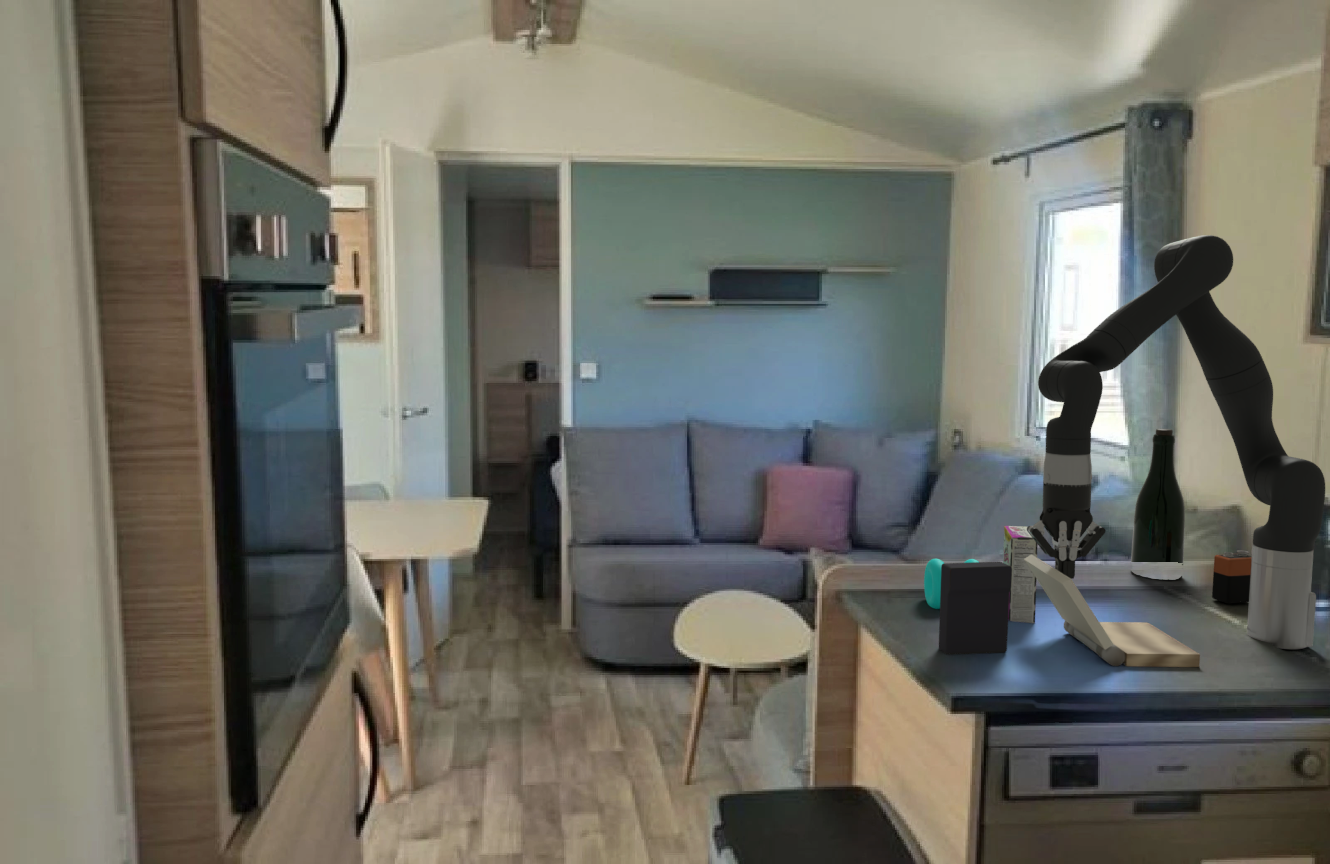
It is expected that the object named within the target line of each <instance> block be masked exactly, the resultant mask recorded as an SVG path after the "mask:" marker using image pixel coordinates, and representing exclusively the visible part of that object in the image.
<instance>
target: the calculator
mask: <svg viewBox="0 0 1330 864" xmlns="http://www.w3.org/2000/svg"><path fill="white" fill-rule="evenodd" d="M1011 582H1012V567H1011V566H1009V565H1007V564H1005V563H1003V561H979V562H973V563H964V562H953V563H952V562H947V563H946V562H944V564H942V566H941V594H940V609H939V623H938V624H939V625H938V626H939V629H938V630H939V631H938V633H939V634H938V649H939V651H941V652H942V653H943V654H945V655H946V656H947V655H976V654H977V655H979V654H980V655H981V654H982V655H983V654H1002V653H1003V654H1005V653H1006V652H1007V651H1008V633H1009V620H1008V610H1009V592H1010V589H1011Z"/></svg>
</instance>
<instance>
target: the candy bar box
mask: <svg viewBox="0 0 1330 864" xmlns="http://www.w3.org/2000/svg"><path fill="white" fill-rule="evenodd" d="M1027 527H1028V526H1022V525H1021V526H1019V525H1004V526H1003V546H1002V547H1003V550H1002V551H1003V553H1002V555H1003V556H1002V558H1003V559H1002V563H1005V564H1007V565H1009V566H1011V567H1012V582H1011V589H1010V592H1009V610H1008V622H1016V623H1025V624H1027V623H1028V624H1036V607H1037V605H1036V604H1037V603H1036V601H1037V599H1036V598H1037V579H1036V577H1035V576H1034V574H1033V573H1032V571H1031V570H1030V568H1029V566H1028V565H1027V563H1026V562H1025V560H1024V559H1025V558H1026V557H1028V556H1029V555H1031V554H1032V555H1033V556H1035V557H1037V558H1038V547H1039V545H1038V544H1037V543H1036V542H1035V540H1034V539H1033V538H1032V536H1031V535H1030V534H1029V533H1028V531H1027Z"/></svg>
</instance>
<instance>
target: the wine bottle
mask: <svg viewBox="0 0 1330 864" xmlns="http://www.w3.org/2000/svg"><path fill="white" fill-rule="evenodd" d="M1173 432H1174V431H1173V429H1170V428H1157V429H1155V434H1153V437H1152V454H1151V460H1150V466H1149V471H1148V473H1147V476H1146V478H1145V480H1144V483H1143V484H1142V487H1141V489H1140V491H1139V493H1138V495H1137V499H1136V502H1135V503H1136V504H1135V508H1134V509H1135V510H1134V517H1133V519H1134V520H1133V528H1132V529H1133V530H1132V543H1131V558H1130V563H1131V562H1178V563H1183V564H1184V561H1185V558H1184V557H1185V531H1186V530H1185V527H1186V510H1185V509H1186V508H1185V501H1184V500H1185V499H1184V497H1183V493H1182V491H1181V488H1180V485H1179V483H1178V480H1177V475H1176V471H1175V457H1174V455H1175V454H1174V453H1175V443H1176V439H1175V435H1174V434H1173Z"/></svg>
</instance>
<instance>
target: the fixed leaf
mask: <svg viewBox="0 0 1330 864" xmlns="http://www.w3.org/2000/svg"><path fill="white" fill-rule="evenodd" d="M1099 623H1100V624H1101V626H1102V627H1103V629H1104V630H1105V632H1106V633H1107V635H1108V637H1109V638H1110V640H1111V641H1112V643H1113V645H1112V646H1110V647H1109V648H1107V649H1106V650H1105V649H1103V648H1102V647H1101V646H1099V645H1097V648H1096V652H1097V653H1096V655H1097V656H1099V658H1101V659H1102V660H1103V661H1105V662H1106V663H1107V664H1109V665H1111V666H1113V667H1119V666H1121V665H1122V664H1123V665H1124V666H1125V667H1156V668H1157V667H1159V668H1160V667H1161V668H1166V667H1167V668H1169V667H1170V668H1177V667H1179V668H1200V662H1201V653H1199V652H1197V651H1195V650H1194V649H1192V648H1190V647H1189V646H1188V645H1186V644H1184V643H1183V642H1180V641H1179V640H1177V639H1176V638H1174V637H1173V636H1170V635H1169V634H1167V633H1166V632H1164V631H1163V630H1161V629H1159V628H1158V627H1156V626H1154V625H1152V624H1151V623H1149V622H1140V621H1137V622H1134V621H1130V622H1129V621H1125V622H1124V621H1120V622H1119V621H1115V622H1114V621H1099ZM1063 629H1064V630H1065V631H1066V632H1067V633H1068V634H1069V635H1070V636H1072V637H1073V638H1074V639H1076V640H1078V639H1077V638H1076V637H1075V636H1074V628H1073V626H1072V625H1071V624H1069V623H1068V622H1067V621H1065V620H1064V622H1063Z"/></svg>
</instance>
